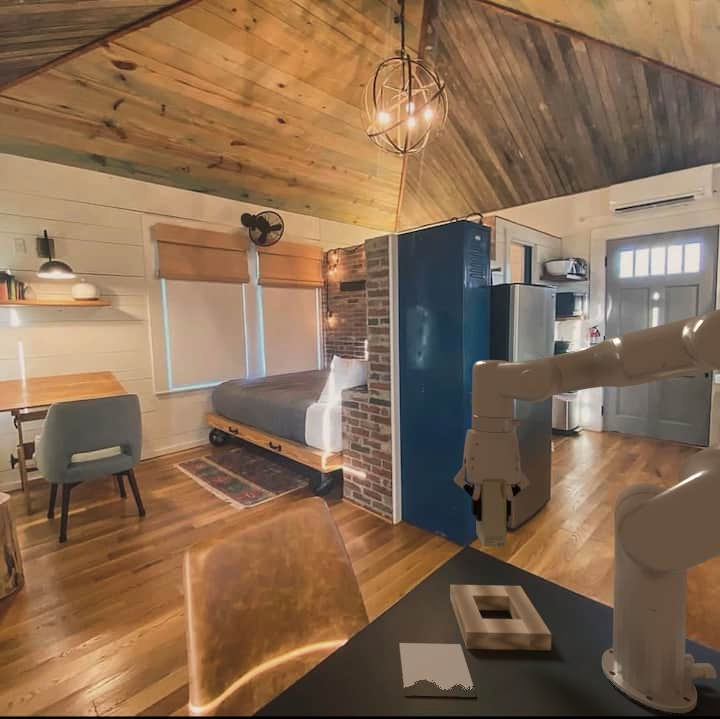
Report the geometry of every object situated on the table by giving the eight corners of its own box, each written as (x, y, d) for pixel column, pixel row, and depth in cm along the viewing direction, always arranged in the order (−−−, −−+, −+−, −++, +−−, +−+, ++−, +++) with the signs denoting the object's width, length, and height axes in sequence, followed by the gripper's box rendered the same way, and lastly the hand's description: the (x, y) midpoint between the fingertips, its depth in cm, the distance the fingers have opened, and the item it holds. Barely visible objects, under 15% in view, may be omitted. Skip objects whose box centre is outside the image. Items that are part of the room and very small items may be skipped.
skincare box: (507, 548, 76) (508, 482, 76) (483, 547, 76) (484, 482, 76) (497, 533, 82) (498, 472, 82) (475, 532, 82) (476, 472, 82)
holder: (520, 599, 88) (520, 585, 88) (551, 650, 73) (551, 633, 73) (450, 598, 88) (450, 584, 88) (466, 648, 73) (466, 632, 73)
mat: (460, 646, 74) (460, 644, 74) (476, 697, 63) (476, 695, 63) (399, 645, 74) (399, 642, 74) (404, 696, 63) (404, 693, 63)
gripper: (529, 421, 82) (528, 512, 82) (444, 420, 83) (443, 510, 83) (544, 428, 75) (543, 528, 75) (451, 427, 75) (449, 525, 76)
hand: (490, 517), depth 79 cm, fingers closed on skincare box, 4 cm apart
